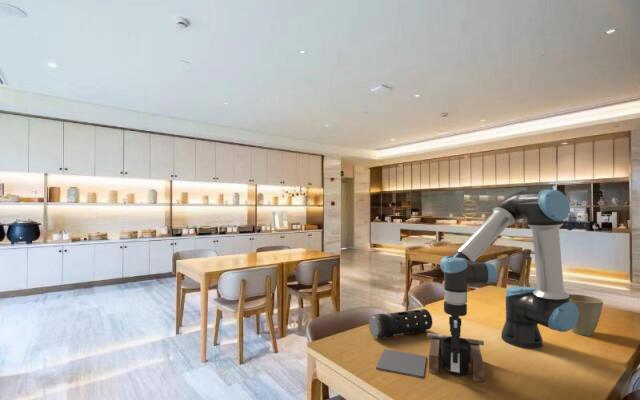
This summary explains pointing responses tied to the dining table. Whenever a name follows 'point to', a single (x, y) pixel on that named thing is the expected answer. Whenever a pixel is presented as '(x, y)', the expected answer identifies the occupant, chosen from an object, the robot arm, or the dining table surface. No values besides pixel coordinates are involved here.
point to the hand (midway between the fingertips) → (454, 362)
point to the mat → (402, 363)
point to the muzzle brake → (400, 323)
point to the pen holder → (463, 356)
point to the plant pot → (586, 313)
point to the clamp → (473, 355)
